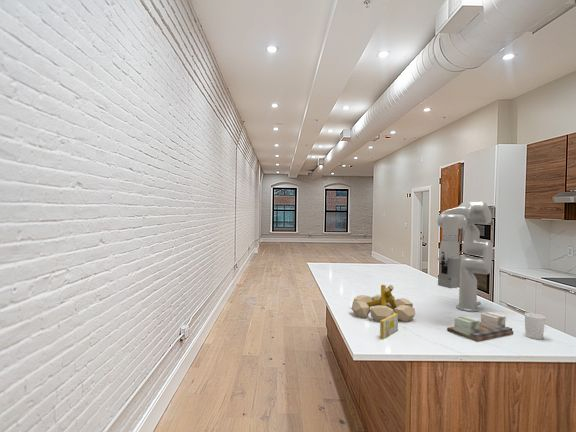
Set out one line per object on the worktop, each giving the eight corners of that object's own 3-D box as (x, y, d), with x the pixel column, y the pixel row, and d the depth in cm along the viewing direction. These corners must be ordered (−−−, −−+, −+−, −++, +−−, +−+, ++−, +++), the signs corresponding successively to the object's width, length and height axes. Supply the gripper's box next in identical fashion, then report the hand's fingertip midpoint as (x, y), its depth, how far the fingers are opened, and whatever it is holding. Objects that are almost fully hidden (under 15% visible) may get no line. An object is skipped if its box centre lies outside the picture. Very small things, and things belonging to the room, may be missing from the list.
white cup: (535, 340, 163) (536, 318, 163) (520, 334, 171) (520, 313, 171) (548, 339, 165) (549, 317, 165) (532, 333, 173) (533, 312, 173)
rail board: (482, 324, 185) (482, 310, 185) (513, 334, 171) (513, 318, 171) (447, 330, 174) (447, 315, 174) (477, 341, 159) (477, 325, 159)
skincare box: (437, 285, 188) (437, 255, 187) (447, 284, 191) (447, 254, 190) (450, 289, 180) (451, 257, 180) (460, 287, 183) (461, 256, 183)
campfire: (419, 326, 180) (420, 292, 180) (350, 321, 187) (351, 288, 187) (409, 308, 215) (410, 280, 214) (352, 304, 221) (353, 276, 221)
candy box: (394, 329, 174) (394, 312, 174) (398, 330, 173) (398, 313, 172) (379, 338, 161) (379, 320, 161) (384, 339, 160) (384, 321, 160)
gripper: (455, 237, 192) (454, 270, 193) (432, 238, 185) (431, 273, 185) (467, 238, 185) (467, 273, 186) (444, 239, 178) (443, 275, 178)
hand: (449, 272), depth 185 cm, fingers closed on skincare box, 6 cm apart
